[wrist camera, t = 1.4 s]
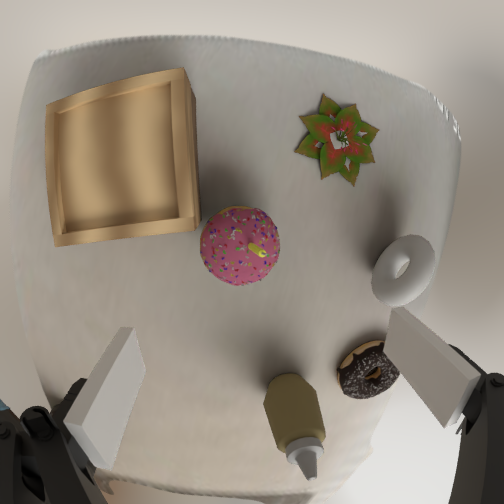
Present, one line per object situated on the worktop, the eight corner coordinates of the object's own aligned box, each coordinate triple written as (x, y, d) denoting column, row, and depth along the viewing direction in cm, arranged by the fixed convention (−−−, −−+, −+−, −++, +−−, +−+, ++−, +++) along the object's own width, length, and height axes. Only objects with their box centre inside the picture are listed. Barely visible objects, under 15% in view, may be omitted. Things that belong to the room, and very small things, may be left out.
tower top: (77, 237, 28) (55, 247, 23) (68, 113, 24) (46, 105, 19) (200, 222, 29) (194, 230, 24) (190, 84, 25) (183, 67, 20)
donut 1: (367, 327, 39) (378, 340, 35) (406, 352, 42) (417, 364, 38) (322, 378, 41) (329, 394, 37) (365, 397, 43) (373, 410, 39)
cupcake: (250, 189, 33) (262, 193, 21) (286, 247, 35) (314, 281, 23) (189, 228, 33) (169, 253, 22) (228, 283, 35) (228, 332, 24)
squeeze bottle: (308, 400, 42) (338, 484, 24) (260, 405, 41) (275, 495, 24) (313, 364, 40) (353, 454, 22) (260, 369, 39) (278, 467, 22)
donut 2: (395, 223, 35) (440, 238, 25) (409, 237, 36) (453, 254, 26) (355, 281, 37) (391, 312, 27) (370, 293, 37) (407, 325, 28)
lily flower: (315, 80, 30) (326, 68, 26) (389, 128, 32) (407, 123, 28) (276, 157, 32) (283, 154, 28) (356, 202, 35) (372, 205, 30)
